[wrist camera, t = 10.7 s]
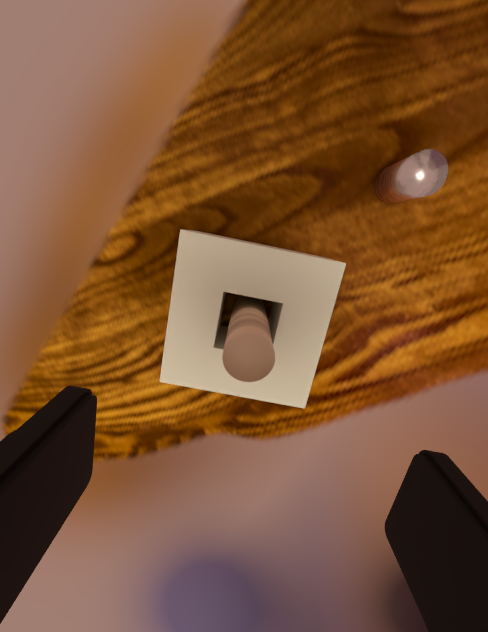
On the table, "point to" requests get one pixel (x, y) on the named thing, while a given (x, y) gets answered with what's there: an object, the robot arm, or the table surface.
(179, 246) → the hole block
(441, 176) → the steel stub
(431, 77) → the table surface
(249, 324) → the birch pin
